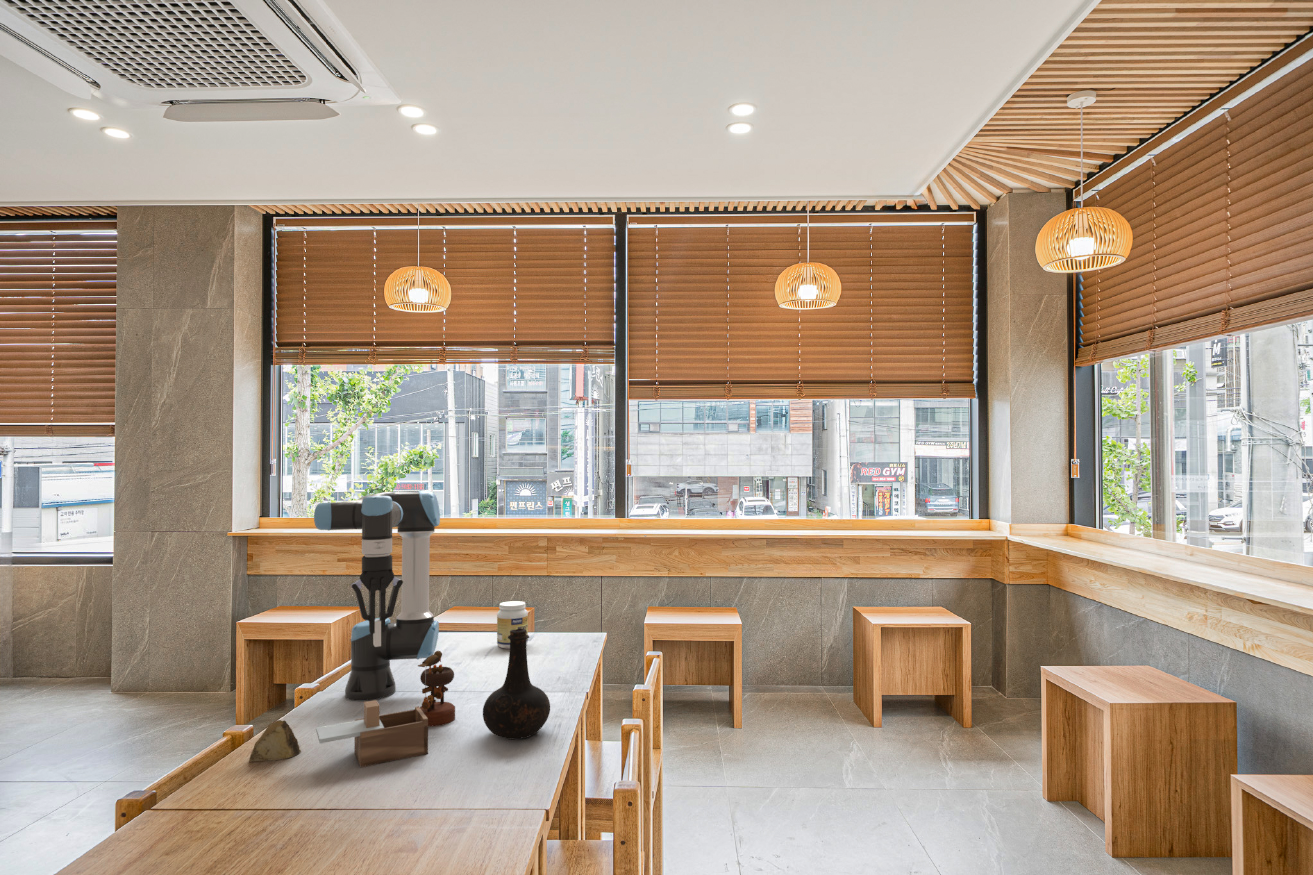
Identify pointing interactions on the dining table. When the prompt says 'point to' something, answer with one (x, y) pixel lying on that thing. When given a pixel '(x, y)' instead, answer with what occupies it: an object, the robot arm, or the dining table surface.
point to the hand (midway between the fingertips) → (377, 645)
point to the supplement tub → (510, 621)
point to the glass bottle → (516, 697)
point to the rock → (275, 743)
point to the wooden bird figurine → (436, 691)
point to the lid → (352, 725)
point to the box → (393, 738)
